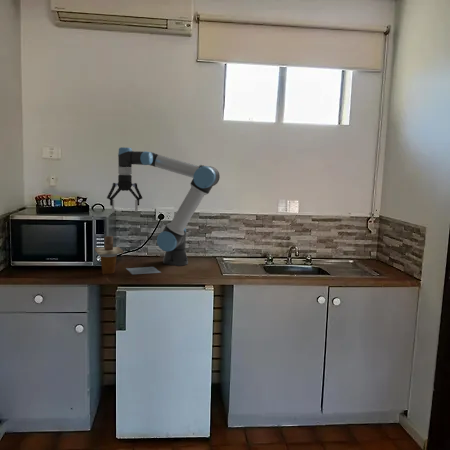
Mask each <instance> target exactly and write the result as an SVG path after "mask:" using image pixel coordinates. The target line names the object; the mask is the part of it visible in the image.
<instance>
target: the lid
mask: <svg viewBox="0 0 450 450" xmlns="http://www.w3.org/2000/svg"><path fill="white" fill-rule="evenodd" d="M94 251H95V252H96V253H97V255H99V254H117V255H118V254H119V255H120V254H121V255H122V254H124V250H123V249H122V248H120V247H119V246H114V236H113V235H106V236H104V247H95V248H94ZM99 256H100V255H99Z"/></svg>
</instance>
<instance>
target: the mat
mask: <svg viewBox="0 0 450 450" xmlns="http://www.w3.org/2000/svg"><path fill="white" fill-rule="evenodd" d="M125 269H126V270H127V271H128V272H129V273H130V274H131V275H142V274H144V275H145V274H159V273H160V274H161V273H162V271H160V270H159V269H157V268H156V267H155V266H145V267H144V266H143V267H130V268H129V267H126V268H125Z"/></svg>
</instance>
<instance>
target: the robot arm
mask: <svg viewBox="0 0 450 450" xmlns="http://www.w3.org/2000/svg"><path fill="white" fill-rule="evenodd" d="M117 157H118V158H117V159H118V167H117V170H118V172H117V173H118V176H117V178H118V180H117V183H116V182H113V183H112V184H111V185H112V186H111V188H110V190H109V191H108V193H107V196H106V199H108V200H109V205H110V207H111V212H115V200H114V199H115V198H116V196H117V195H118V194H119V193H120V192H121V191H122V192H123V191H124V192H125V191H126V192H128V191H129V192H130V193H131V194H132V196H133V197H134V198H135V199H134V211H135V212H138V206H140V200H143V195H142V194H141V191H140V189H139V188H138V183H137V182H134V183H132V182H133V181H132V177H133V176H132V173H133V172H132V170H133V169H132V168H133V166H132V165H138V166H150V167H151V166H152V167H154V168H159V169H161V170H165V171H168V172H172V173H176V174H178V175H181V176H186V177H189V178H192V180H191V182H190V183H189V184H190V188H189V190H188V192H187V193H186V196H185V197H184V199H183V201H182V203H181V204H180V206H179V208H178V209H177V211H176V213H175V214H174V217H173V218H172V220H171V221H170V222H169V223H166V224H165V226H164V228H163V230H162V231H161V232H160V233H158V235H157V237H156V244H157V246H158V248H159V249H160V250H162V251H164V256H163V258H162V263H163V264H164V265H167V266H168V265H169V266H176V267H181V266H186V265H188V264H189V260H188V256H187V251H186V241H187V240H186V238H187V228H186V227H187V226H188V224H189V222H190V221H191V218H192V216H193V215H194V213H196V210H197V208H198V207H199V205H200V203H201V201H202V200H203V198H204V196H206V195H208V194H210V192H211V189H213V187H214V186H217V184H218V183H219V180H220V179H221V177H220V172H219V170H218V169H217V168H216V167H213V166H211V165H210V166H209V165H202V164H200V165H195V164H193V163H191V162H190V163H189V162H185V161H182V160H179V159H175V158H172V157H168V156H165V155H162V154H157V153H155V152H152V151H145V150H144V151H134V150H133V149H132V148H131V147H124V146H123V147H119V148H118V153H117ZM116 187H118V188H117V190H116V191H115V188H116ZM132 188H134V189H135V192H136V193H135V192H134V190H133V189H132ZM114 191H115V192H114Z"/></svg>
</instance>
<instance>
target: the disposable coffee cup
mask: <svg viewBox="0 0 450 450" xmlns="http://www.w3.org/2000/svg"><path fill="white" fill-rule="evenodd" d="M117 256H118V254H99V257H100V266H101V272H102V275H107V274H109V275H111V274H114V273H115V271H116V265H117Z"/></svg>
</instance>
